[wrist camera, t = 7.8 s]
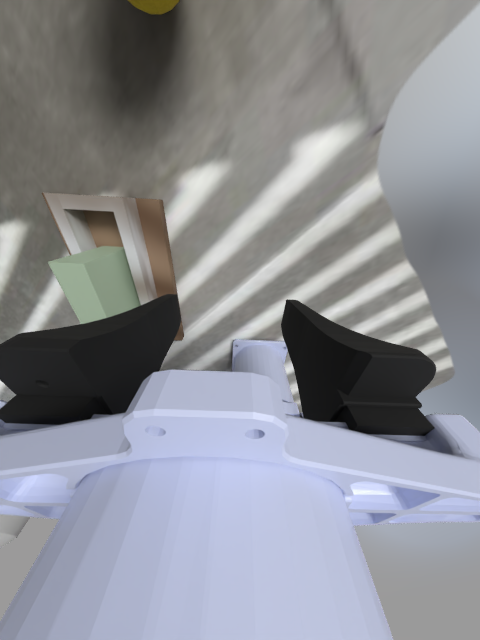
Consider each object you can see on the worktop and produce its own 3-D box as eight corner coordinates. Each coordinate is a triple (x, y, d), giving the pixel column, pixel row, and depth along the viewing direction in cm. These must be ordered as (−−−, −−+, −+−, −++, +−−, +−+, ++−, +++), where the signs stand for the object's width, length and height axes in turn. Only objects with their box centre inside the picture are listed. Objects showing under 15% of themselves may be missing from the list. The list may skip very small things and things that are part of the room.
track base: (184, 336, 25) (177, 350, 22) (112, 332, 25) (98, 347, 22) (162, 199, 16) (147, 198, 14) (51, 193, 16) (16, 191, 14)
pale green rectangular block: (147, 315, 22) (119, 347, 17) (127, 314, 22) (93, 346, 17) (128, 247, 18) (83, 263, 13) (103, 245, 18) (47, 262, 12)
